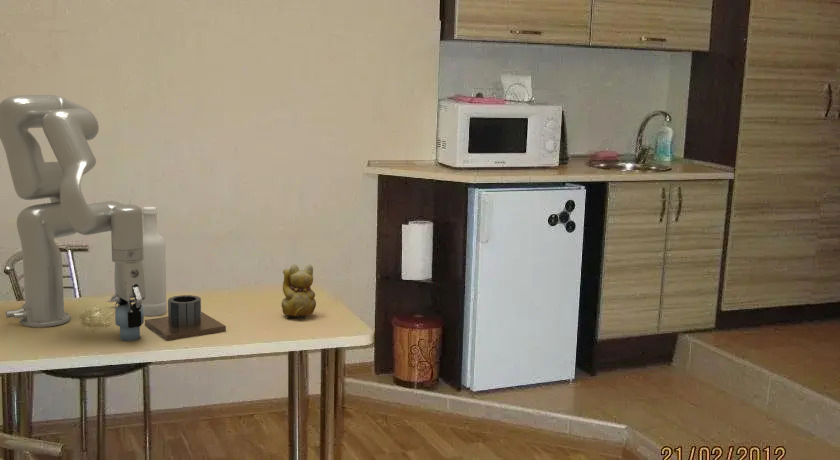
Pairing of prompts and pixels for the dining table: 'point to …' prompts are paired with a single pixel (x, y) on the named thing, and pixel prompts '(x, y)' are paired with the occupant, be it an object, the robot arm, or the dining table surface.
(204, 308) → the dining table surface
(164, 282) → the bottle
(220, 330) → the copper square plate
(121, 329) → the cap
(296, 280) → the decorative figurine
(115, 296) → the stegosaurus
